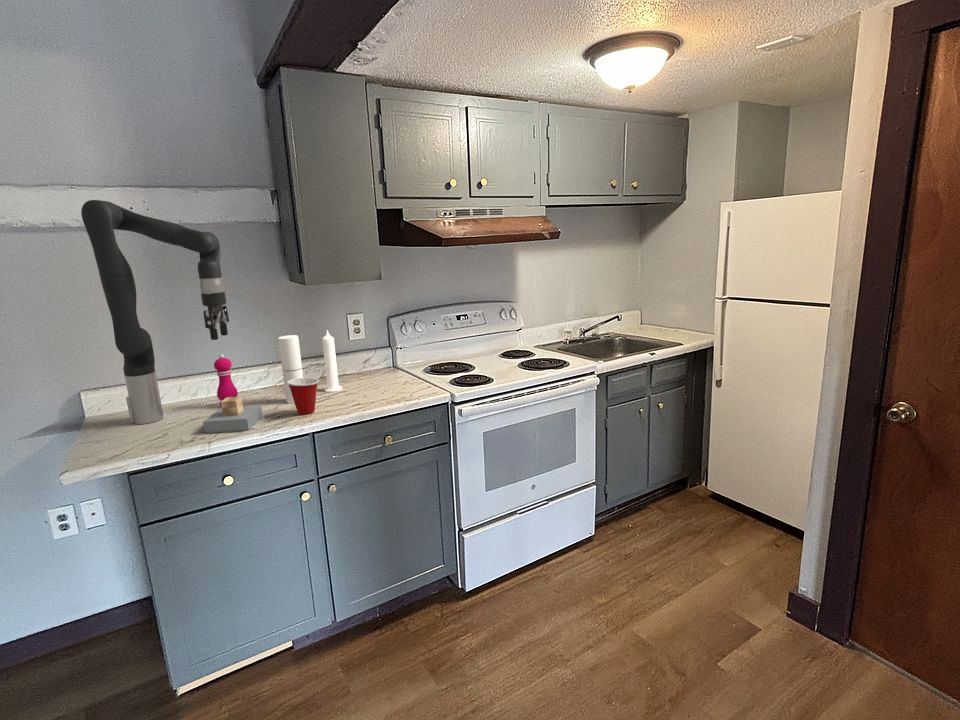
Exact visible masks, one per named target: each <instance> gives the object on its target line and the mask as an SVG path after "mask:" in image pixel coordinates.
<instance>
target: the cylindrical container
mask: <svg viewBox="0 0 960 720" xmlns="http://www.w3.org/2000/svg"><path fill="white" fill-rule="evenodd" d="M277 338H278V339H277V340H278V347H279V354H280V355H279V356H280V362H281V370H282V377H283V385H284V392H285V401H286V403H288V404H295V403H294V400H293V396H292V393H291V390H290V387H289V384H288V383H287V381H289V380H292V379H297V378H304V372H303V368H302V367H303V365H302V356H301V347H300V340H299V336H298V334H297V335H296V334H295V335H293V334H292V335H289V334H288V335H282V336H279V337H277Z"/></svg>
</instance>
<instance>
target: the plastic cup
mask: <svg viewBox="0 0 960 720" xmlns="http://www.w3.org/2000/svg"><path fill="white" fill-rule="evenodd" d="M319 382H320V380H319V379H317V378H313V377H303V378H297V379H292V380H289V381H287V383H288V384H289V387H290V390H291V393H292V396H293V400H294V403H293V404H294V406H295V408H296V411H297V414H298V415H303V416H304V415H305V416H307V415H311V414H314V413H315V411H316V401H317V399H316V398H317V388H318V384H319Z"/></svg>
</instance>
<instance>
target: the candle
mask: <svg viewBox="0 0 960 720" xmlns="http://www.w3.org/2000/svg"><path fill="white" fill-rule="evenodd" d="M321 339H322V349H323V359H324V368H325V376H326V384H327V387H324V392H325V393H337V392H340V391H342V390H343V386H341V385H340V384H339V375H338V366H337V365H338V364H337V355H336V346H335V337H333V336H332V335H331V334H330V333H329V330H328V329H326V332H325V335H324V336H323V337H322V338H321Z"/></svg>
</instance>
